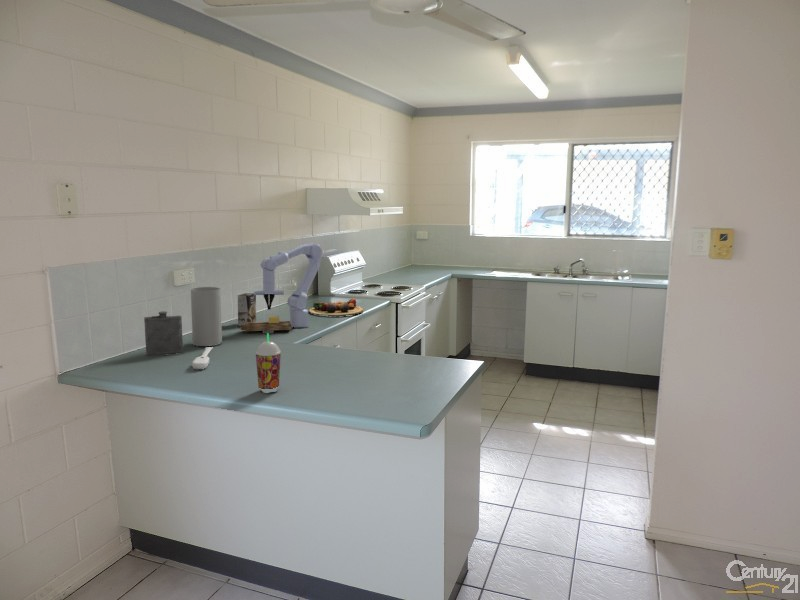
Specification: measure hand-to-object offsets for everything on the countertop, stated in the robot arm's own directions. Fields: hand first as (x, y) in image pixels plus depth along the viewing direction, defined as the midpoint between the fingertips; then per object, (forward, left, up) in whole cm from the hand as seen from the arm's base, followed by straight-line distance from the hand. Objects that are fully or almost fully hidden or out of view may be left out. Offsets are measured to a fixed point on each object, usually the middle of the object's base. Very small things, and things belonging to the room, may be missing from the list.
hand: (269, 309), depth 294 cm
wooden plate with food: (-40, -43, -11) cm, 59 cm away
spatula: (+27, +57, -11) cm, 64 cm away
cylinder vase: (+28, +27, -11) cm, 40 cm away
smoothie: (+3, +100, -11) cm, 101 cm away
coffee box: (+11, -14, -11) cm, 21 cm away
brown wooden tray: (+2, +5, -9) cm, 10 cm away
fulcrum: (+1, +5, -10) cm, 12 cm away
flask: (+44, +42, -11) cm, 62 cm away
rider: (-2, +5, -8) cm, 9 cm away
